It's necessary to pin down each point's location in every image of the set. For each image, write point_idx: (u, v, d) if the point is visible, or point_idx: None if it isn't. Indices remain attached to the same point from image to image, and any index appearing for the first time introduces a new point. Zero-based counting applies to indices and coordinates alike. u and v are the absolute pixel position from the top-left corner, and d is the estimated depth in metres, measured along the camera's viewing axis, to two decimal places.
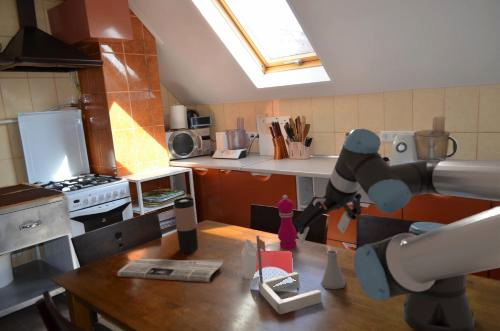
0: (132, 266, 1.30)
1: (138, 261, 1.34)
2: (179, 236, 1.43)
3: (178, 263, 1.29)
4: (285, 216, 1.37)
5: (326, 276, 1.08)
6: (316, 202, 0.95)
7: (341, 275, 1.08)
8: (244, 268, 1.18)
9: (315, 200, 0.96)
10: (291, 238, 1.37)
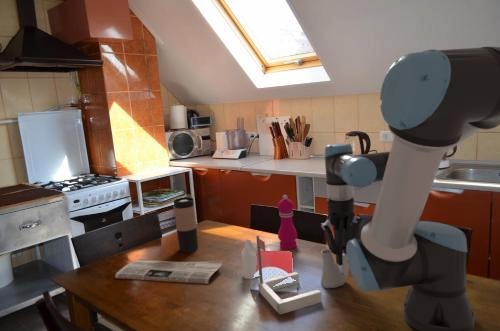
0: (130, 268, 1.29)
1: (136, 263, 1.32)
2: (179, 236, 1.43)
3: (177, 265, 1.28)
4: (285, 216, 1.37)
5: (324, 276, 1.08)
6: (323, 227, 1.06)
7: (339, 272, 1.08)
8: (244, 268, 1.18)
9: (322, 226, 1.07)
10: (291, 238, 1.37)
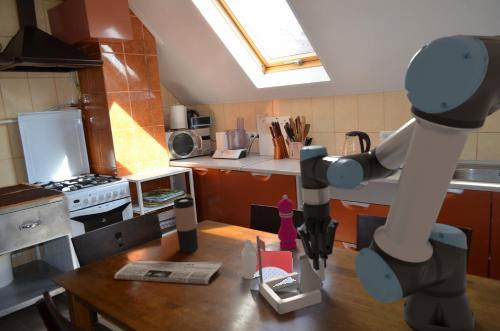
0: (129, 268, 1.28)
1: (135, 263, 1.32)
2: (179, 236, 1.43)
3: (176, 265, 1.27)
4: (285, 216, 1.37)
5: (302, 282, 1.05)
6: (298, 232, 1.04)
7: (317, 278, 1.06)
8: (244, 268, 1.18)
9: (297, 231, 1.04)
10: (291, 238, 1.37)
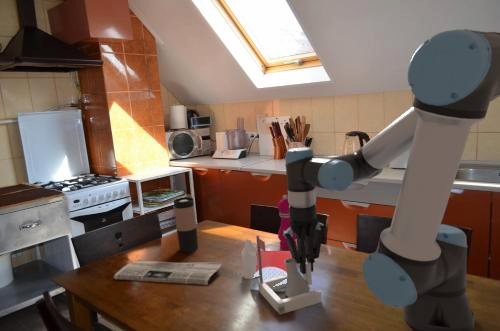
0: (129, 269, 1.28)
1: (135, 263, 1.32)
2: (179, 236, 1.43)
3: (176, 265, 1.27)
4: (285, 216, 1.37)
5: (288, 286, 1.04)
6: (284, 235, 1.02)
7: (303, 282, 1.04)
8: (244, 268, 1.18)
9: (283, 234, 1.03)
10: None
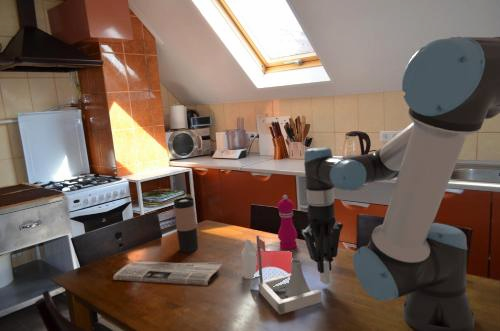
0: (128, 269, 1.27)
1: (134, 264, 1.31)
2: (179, 236, 1.43)
3: (175, 266, 1.27)
4: (285, 216, 1.37)
5: (290, 286, 1.04)
6: (304, 234, 1.03)
7: (306, 285, 1.04)
8: (244, 268, 1.18)
9: (302, 233, 1.04)
10: (291, 238, 1.37)
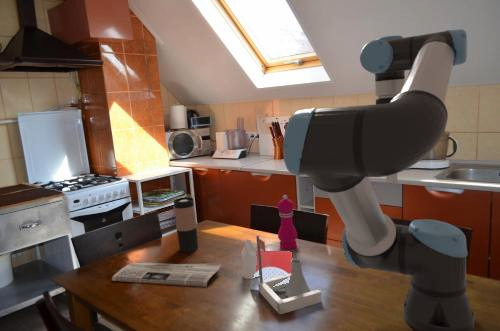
0: (127, 270, 1.27)
1: (133, 265, 1.31)
2: (179, 236, 1.43)
3: (175, 267, 1.26)
4: (285, 216, 1.37)
5: (290, 286, 1.04)
6: None
7: (306, 285, 1.04)
8: (244, 268, 1.18)
9: None
10: (291, 238, 1.37)
